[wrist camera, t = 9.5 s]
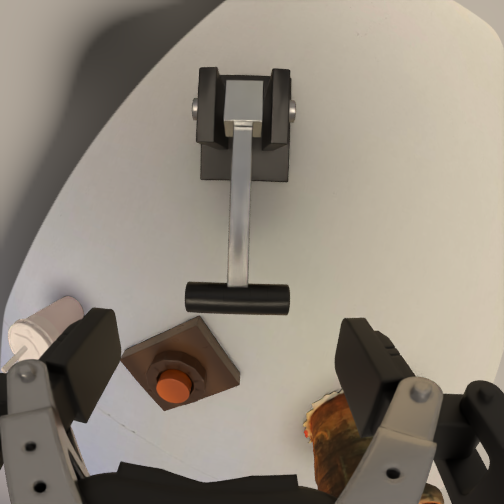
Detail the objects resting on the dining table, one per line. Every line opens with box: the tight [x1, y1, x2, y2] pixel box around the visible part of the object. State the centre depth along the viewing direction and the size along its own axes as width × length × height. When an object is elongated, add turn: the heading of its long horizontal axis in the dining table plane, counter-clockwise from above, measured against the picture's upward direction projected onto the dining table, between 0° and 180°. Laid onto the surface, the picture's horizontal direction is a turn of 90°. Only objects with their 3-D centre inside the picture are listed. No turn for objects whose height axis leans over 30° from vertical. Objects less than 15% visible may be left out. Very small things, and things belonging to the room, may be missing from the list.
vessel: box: [303, 389, 444, 504], centre depth 29 cm, size 14×14×20 cm
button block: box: [120, 316, 240, 411], centre depth 33 cm, size 11×9×4 cm
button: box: [156, 369, 192, 403], centre depth 31 cm, size 4×4×2 cm
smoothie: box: [1, 296, 84, 373], centre depth 26 cm, size 6×6×14 cm
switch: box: [185, 80, 290, 315], centre depth 17 cm, size 13×6×2 cm, turn 178°
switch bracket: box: [192, 67, 296, 182], centre depth 22 cm, size 10×8×13 cm
